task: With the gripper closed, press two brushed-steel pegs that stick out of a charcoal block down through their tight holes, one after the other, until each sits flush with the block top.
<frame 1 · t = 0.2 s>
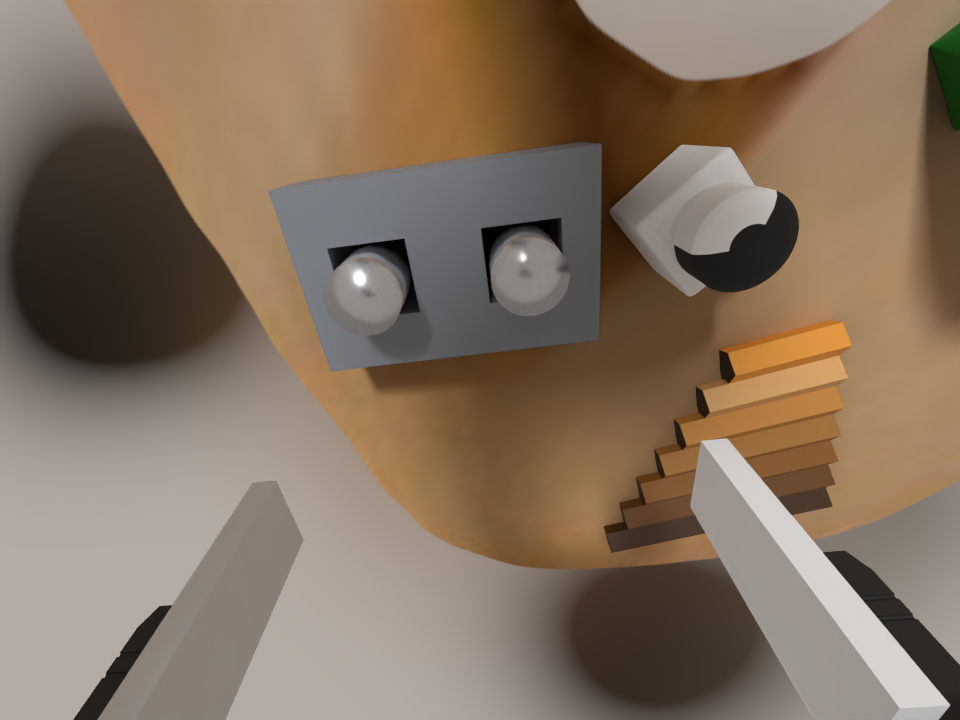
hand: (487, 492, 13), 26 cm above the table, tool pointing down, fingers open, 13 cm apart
steel peg 1: (526, 268, 29), point 8 cm above the table, slide at 0.0 cm
steel peg 2: (370, 288, 29), point 7 cm above the table, slide at 0.0 cm
peg block: (452, 251, 36), on the table
medicine bottle: (666, 210, 34), on the table
pan flute: (697, 442, 47), on the table
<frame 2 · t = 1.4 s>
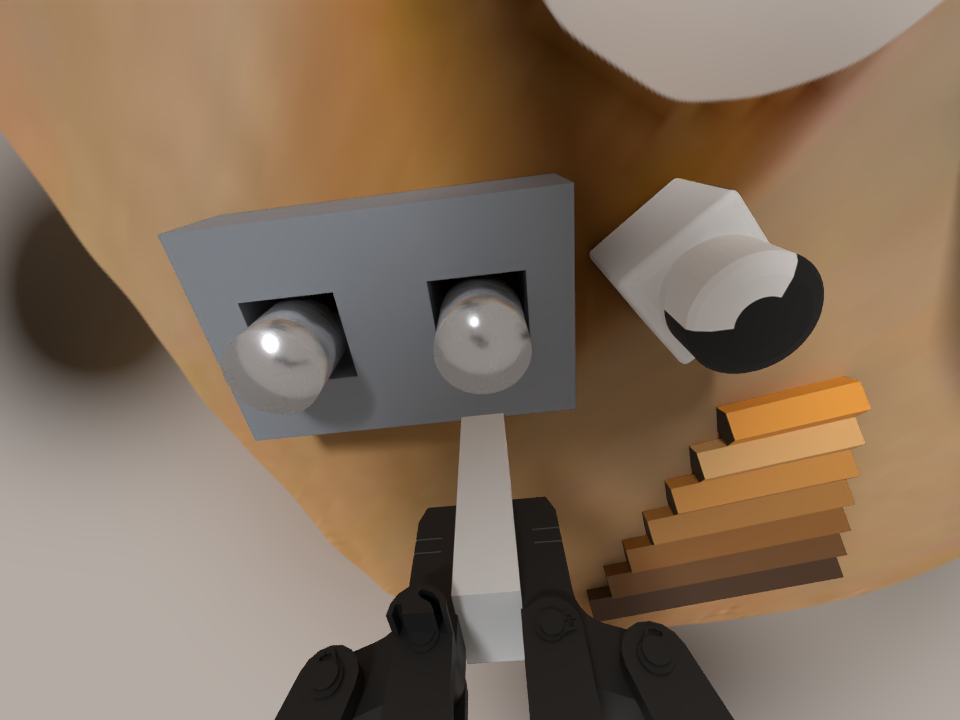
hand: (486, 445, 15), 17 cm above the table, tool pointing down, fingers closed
steel peg 1: (481, 332, 23), point 8 cm above the table, slide at 0.0 cm
steel peg 2: (290, 353, 24), point 8 cm above the table, slide at 0.0 cm
peg block: (405, 297, 30), on the table
medicine bottle: (657, 253, 29), on the table
pan flute: (691, 503, 42), on the table
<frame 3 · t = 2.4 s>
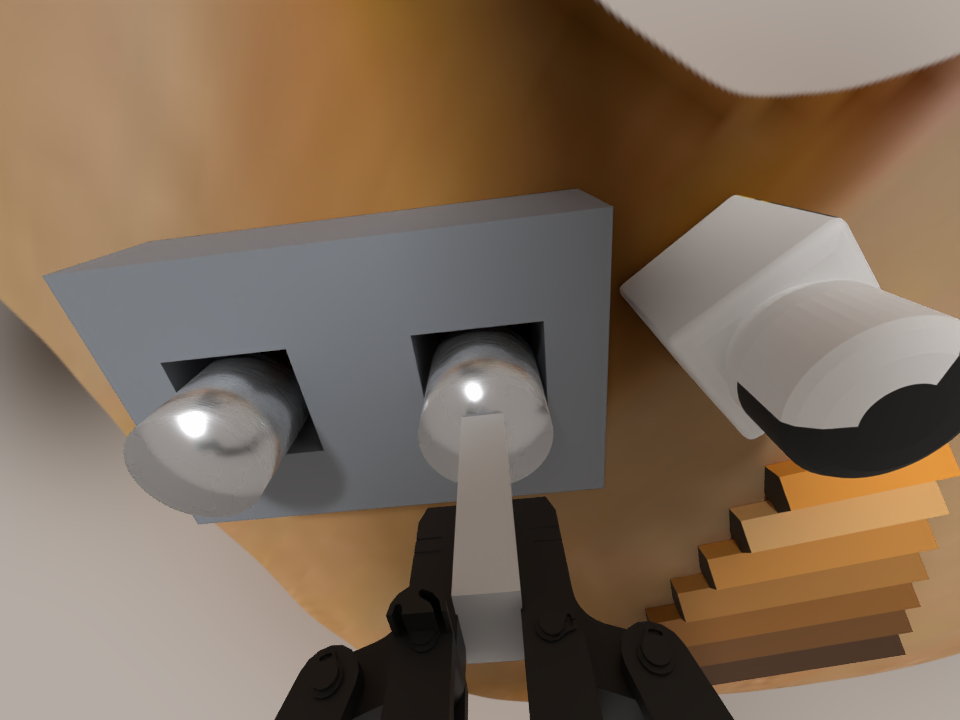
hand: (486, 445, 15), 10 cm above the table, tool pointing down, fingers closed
steel peg 1: (484, 400, 18), point 7 cm above the table, slide at 0.3 cm, touching gripper
steel peg 2: (230, 429, 18), point 8 cm above the table, slide at 0.0 cm
peg block: (388, 340, 24), on the table
medicine bottle: (704, 287, 23), on the table
pan flute: (727, 568, 35), on the table
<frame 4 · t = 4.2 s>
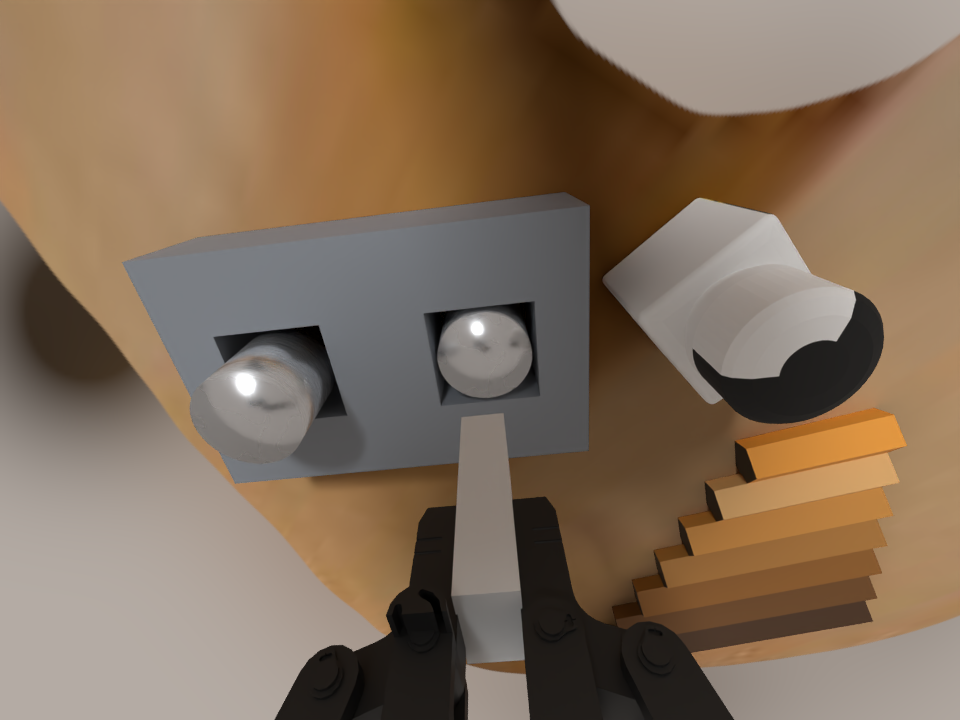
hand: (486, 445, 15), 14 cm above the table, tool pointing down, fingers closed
steel peg 1: (484, 338, 24), point 4 cm above the table, slide at 3.9 cm
steel peg 2: (271, 392, 21), point 8 cm above the table, slide at 0.0 cm
peg block: (401, 324, 28), on the table
medicine bottle: (676, 278, 27), on the table
pan flute: (706, 541, 39), on the table
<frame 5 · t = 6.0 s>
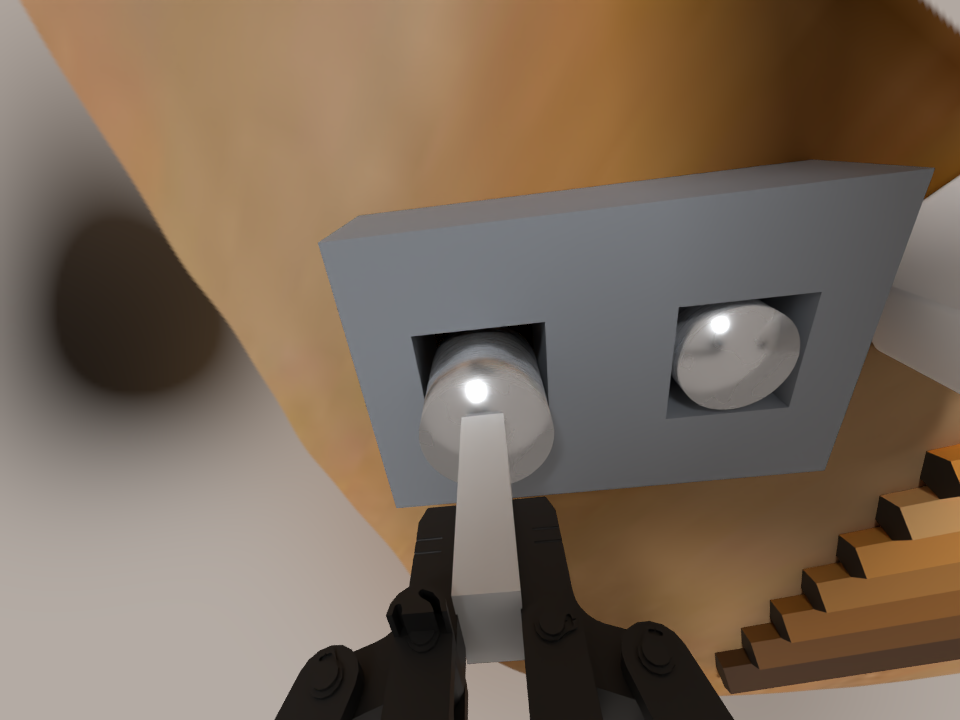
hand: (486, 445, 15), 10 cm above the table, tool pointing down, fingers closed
steel peg 1: (710, 337, 20), point 4 cm above the table, slide at 3.9 cm
steel peg 2: (485, 400, 18), point 7 cm above the table, slide at 0.4 cm, touching gripper
peg block: (579, 320, 24), on the table
medicine bottle: (914, 265, 22), on the table
pan flute: (859, 558, 35), on the table
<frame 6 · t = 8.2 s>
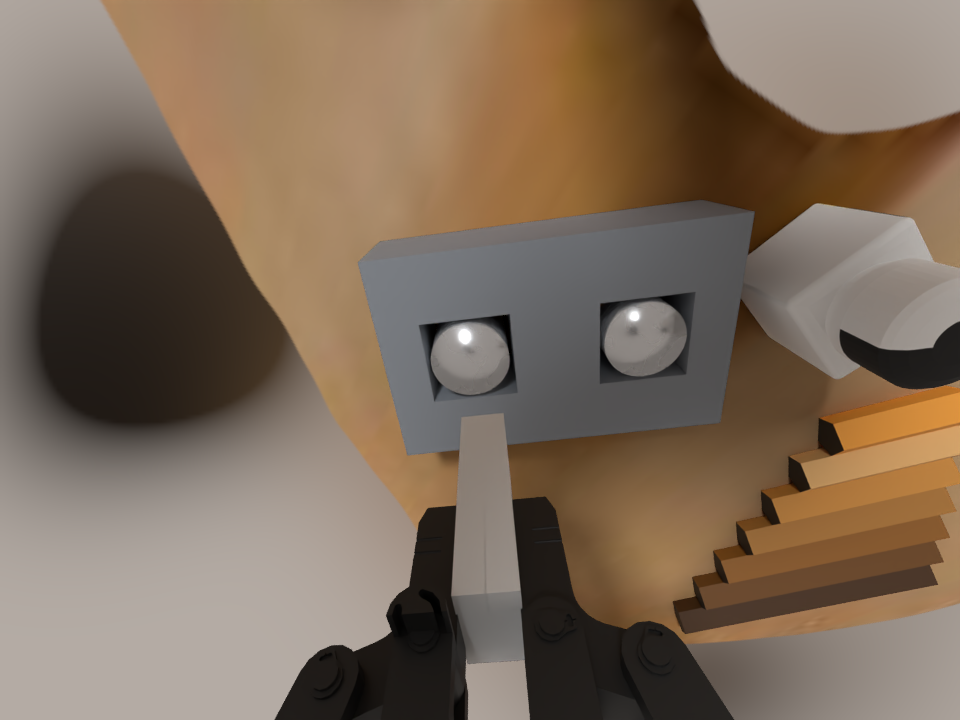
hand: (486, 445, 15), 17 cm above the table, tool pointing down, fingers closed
steel peg 1: (632, 325, 28), point 4 cm above the table, slide at 3.9 cm
steel peg 2: (470, 344, 29), point 4 cm above the table, slide at 3.9 cm
peg block: (543, 316, 32), on the table
medicine bottle: (788, 273, 30), on the table
pan flute: (783, 513, 42), on the table
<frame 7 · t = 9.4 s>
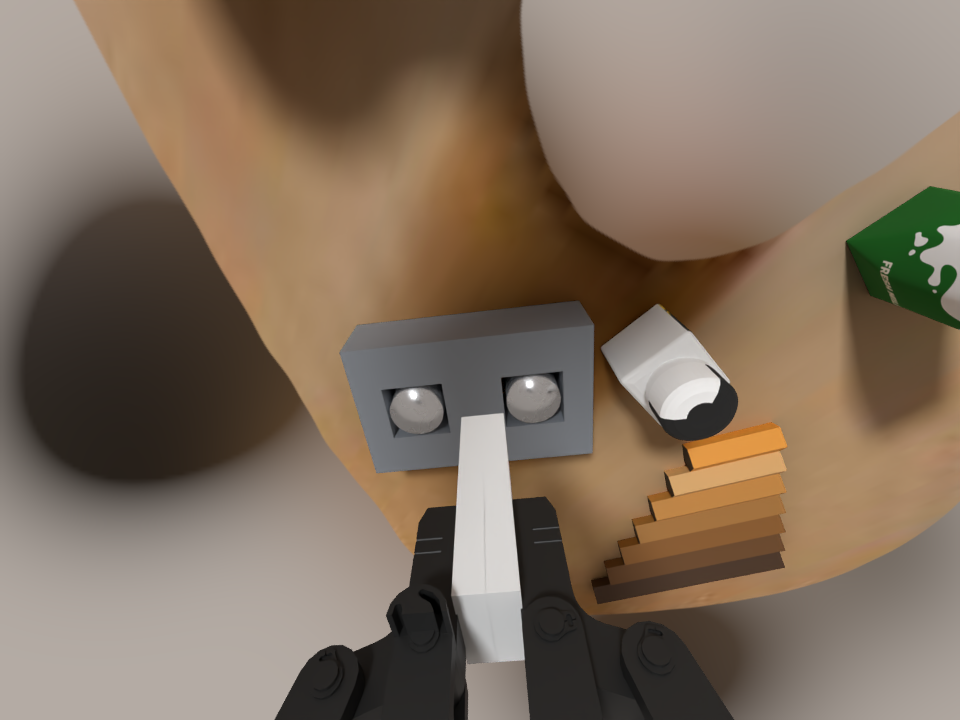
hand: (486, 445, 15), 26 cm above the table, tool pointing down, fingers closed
milk carton: (894, 244, 38), on the table
steel peg 1: (530, 386, 41), point 4 cm above the table, slide at 3.9 cm
steel peg 2: (419, 398, 41), point 4 cm above the table, slide at 3.9 cm
peg block: (475, 374, 44), on the table
medicine bottle: (646, 346, 43), on the table
pan flute: (669, 512, 55), on the table
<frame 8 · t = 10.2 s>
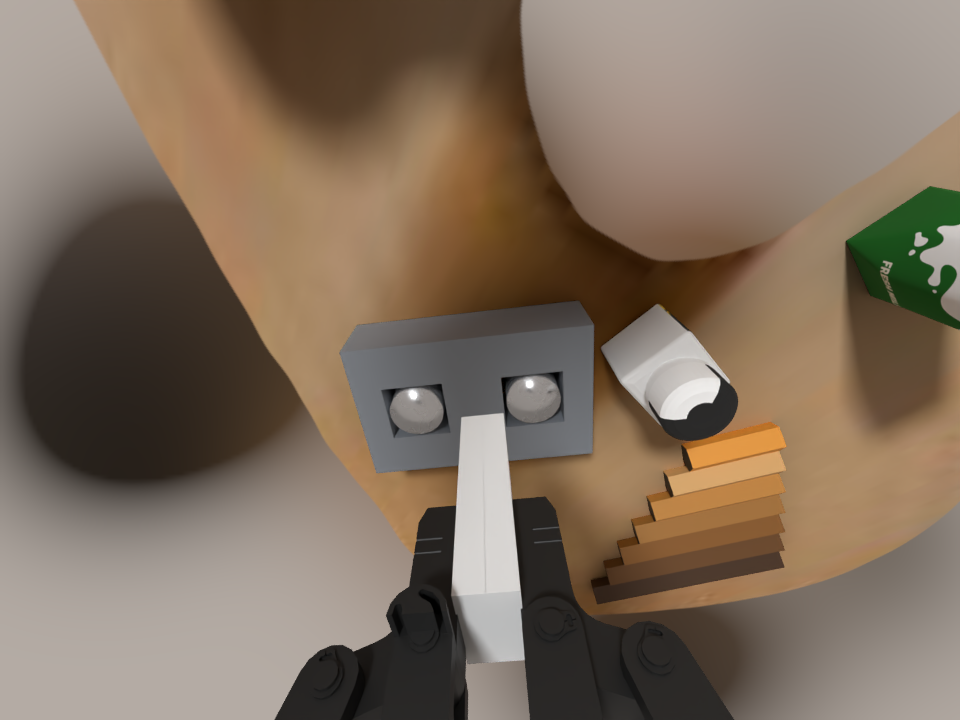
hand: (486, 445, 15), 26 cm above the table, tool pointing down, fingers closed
milk carton: (894, 244, 38), on the table
steel peg 1: (530, 386, 41), point 4 cm above the table, slide at 3.9 cm
steel peg 2: (419, 398, 41), point 4 cm above the table, slide at 3.9 cm
peg block: (475, 374, 44), on the table
medicine bottle: (646, 346, 43), on the table
pan flute: (668, 512, 55), on the table
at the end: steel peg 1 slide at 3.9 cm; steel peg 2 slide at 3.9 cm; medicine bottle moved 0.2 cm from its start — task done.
